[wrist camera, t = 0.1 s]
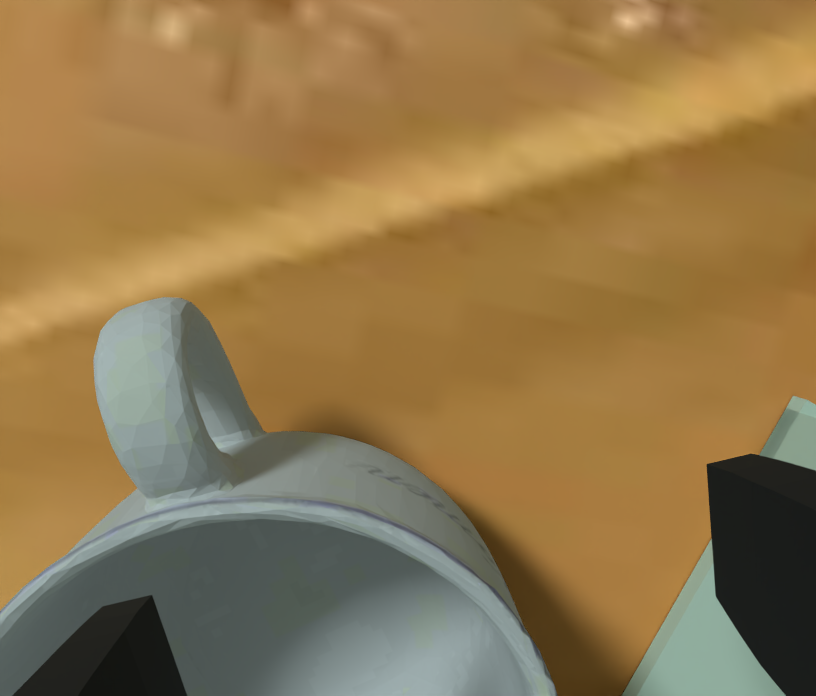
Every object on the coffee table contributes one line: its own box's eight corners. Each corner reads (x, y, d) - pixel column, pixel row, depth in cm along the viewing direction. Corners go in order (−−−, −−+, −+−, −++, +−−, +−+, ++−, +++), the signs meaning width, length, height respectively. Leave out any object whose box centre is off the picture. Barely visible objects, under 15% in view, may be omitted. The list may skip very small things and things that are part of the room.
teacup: (491, 746, 21) (582, 1038, 13) (111, 791, 20) (-36, 1135, 12) (468, 269, 19) (558, 277, 11) (49, 295, 18) (-169, 324, 11)
